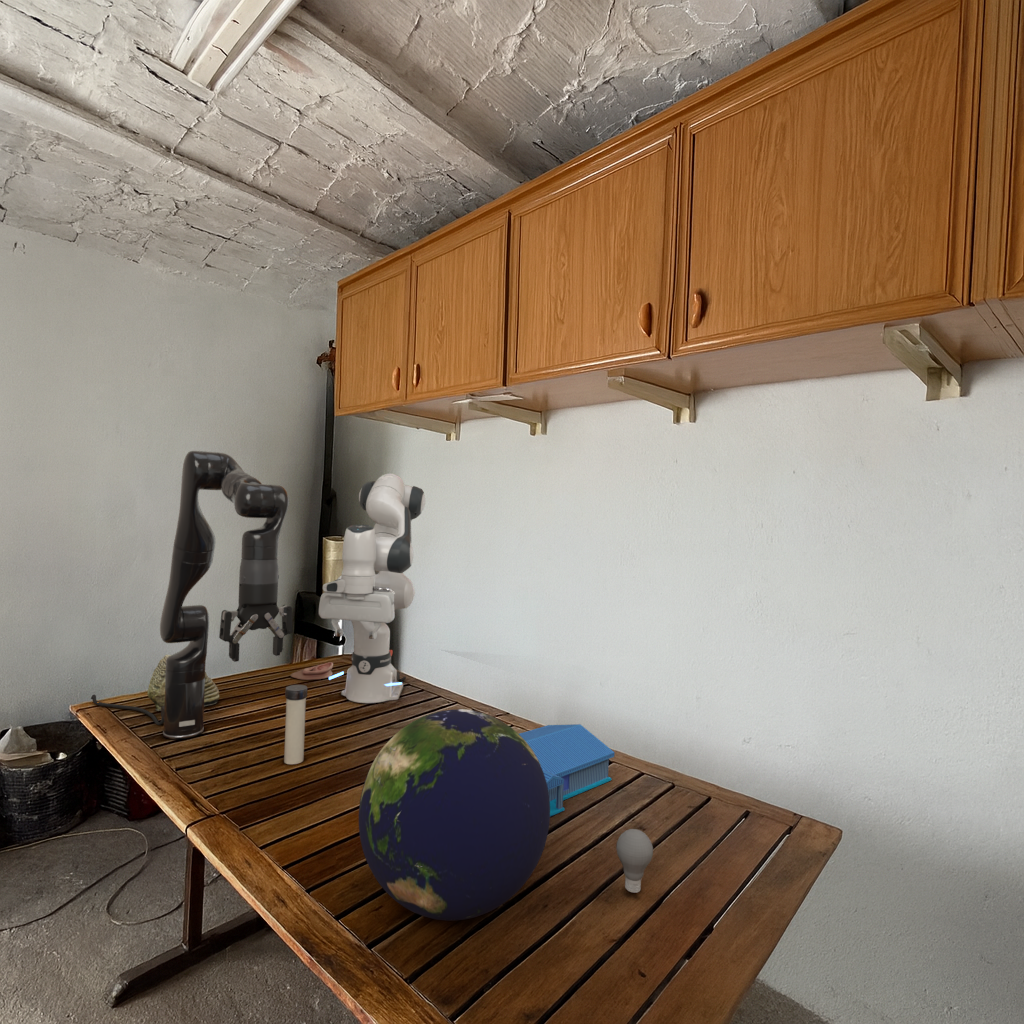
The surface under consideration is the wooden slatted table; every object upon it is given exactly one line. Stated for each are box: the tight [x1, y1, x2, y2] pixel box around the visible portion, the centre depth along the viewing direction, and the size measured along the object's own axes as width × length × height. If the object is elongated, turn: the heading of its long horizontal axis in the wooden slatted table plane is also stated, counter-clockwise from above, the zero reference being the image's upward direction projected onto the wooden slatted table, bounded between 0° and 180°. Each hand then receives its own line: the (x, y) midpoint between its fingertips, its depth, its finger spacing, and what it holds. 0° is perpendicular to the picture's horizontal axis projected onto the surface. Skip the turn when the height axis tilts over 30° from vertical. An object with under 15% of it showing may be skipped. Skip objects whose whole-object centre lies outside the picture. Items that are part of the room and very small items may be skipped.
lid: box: [284, 684, 308, 700], centre depth 151 cm, size 5×5×2 cm
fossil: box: [147, 654, 221, 712], centre depth 185 cm, size 9×18×15 cm, turn 132°
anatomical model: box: [290, 661, 334, 681], centre depth 221 cm, size 13×4×12 cm
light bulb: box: [615, 828, 654, 894], centre depth 106 cm, size 6×6×10 cm
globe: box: [358, 708, 551, 922], centre depth 100 cm, size 30×30×30 cm
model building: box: [518, 723, 615, 817], centre depth 141 cm, size 39×24×10 cm, turn 132°
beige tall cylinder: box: [283, 697, 307, 765], centre depth 151 cm, size 4×4×17 cm
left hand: (256, 657), depth 132 cm, fingers open, 8 cm apart
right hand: (355, 637), depth 169 cm, fingers open, 8 cm apart
